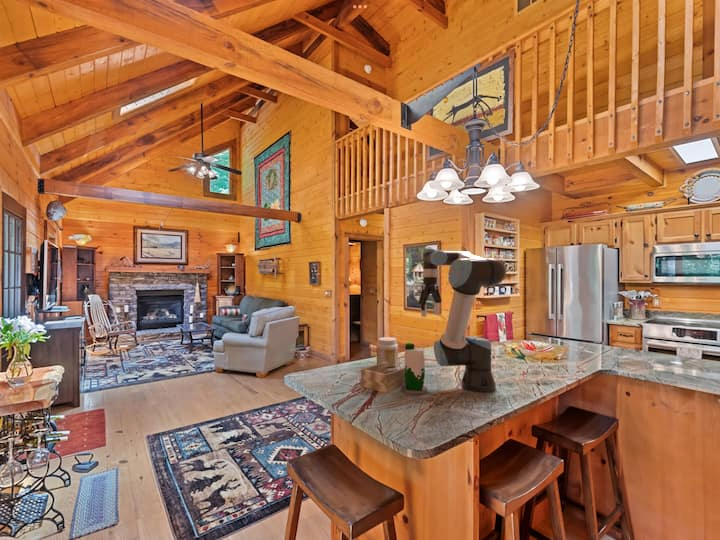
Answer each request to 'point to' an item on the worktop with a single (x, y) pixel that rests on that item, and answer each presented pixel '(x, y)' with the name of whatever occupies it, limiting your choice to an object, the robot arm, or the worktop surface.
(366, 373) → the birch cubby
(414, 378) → the soya milk
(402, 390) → the slate coaster
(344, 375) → the worktop surface
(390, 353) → the supplement tub
